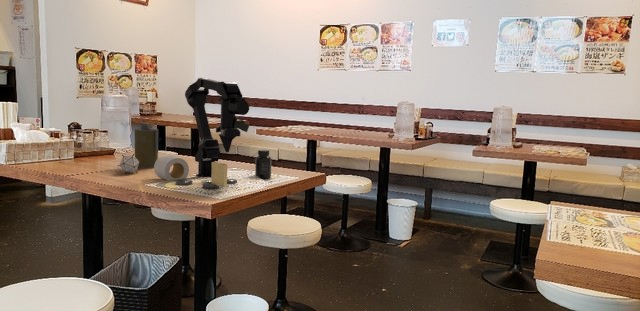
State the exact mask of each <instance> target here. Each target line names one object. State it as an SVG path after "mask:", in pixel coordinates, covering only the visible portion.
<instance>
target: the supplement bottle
mask: <svg viewBox="0 0 640 311" xmlns="http://www.w3.org/2000/svg"><path fill="white" fill-rule="evenodd" d="M254 163H255V166H254V167H255V169H254V170H255V172H254V175H255V177H258V178H260V179H261V180H268V179H272V157H271V156H270V150H268V149H258V151H257V156H256V157H255V162H254Z"/></svg>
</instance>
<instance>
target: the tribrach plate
mask: <svg viewBox="0 0 640 311" xmlns="http://www.w3.org/2000/svg"><path fill="white" fill-rule="evenodd" d="M204 182H211V179H210V180H209V179H203V180H201V183H202V184H203V183H204ZM233 184H234V185H235V184H238V180H237V179H235V178H227V185H233ZM175 185H176V186H192V185H193V180H190V179H176V180H175Z"/></svg>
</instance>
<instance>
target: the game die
mask: <svg viewBox="0 0 640 311" xmlns="http://www.w3.org/2000/svg"><path fill="white" fill-rule="evenodd" d="M121 156H122V158H121V161H120V163H119V165H118V164H117V167H120V168H121V169H122V170H123V171H124V174H125V175H126V174H127V173H136V174H138V171H137V170H138V169H139V168H138V166H139V163H141V161H140V162H139V161H138V160H137V159H136V158H135V153H133V154H132V155H124V154H122V155H121Z"/></svg>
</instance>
